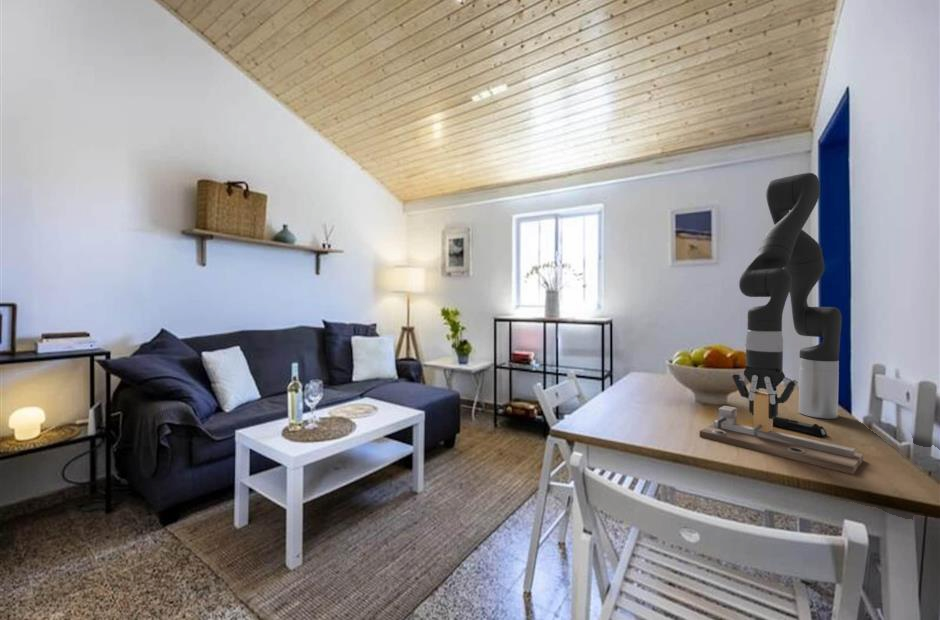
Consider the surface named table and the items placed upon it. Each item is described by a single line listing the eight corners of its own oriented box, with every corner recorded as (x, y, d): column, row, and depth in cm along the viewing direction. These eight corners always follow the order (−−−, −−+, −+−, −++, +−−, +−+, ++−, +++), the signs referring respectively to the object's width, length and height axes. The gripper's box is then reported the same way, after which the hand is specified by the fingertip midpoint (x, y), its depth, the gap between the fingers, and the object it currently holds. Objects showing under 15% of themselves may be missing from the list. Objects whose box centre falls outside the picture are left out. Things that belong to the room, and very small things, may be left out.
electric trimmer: (762, 422, 121) (762, 411, 121) (828, 436, 108) (828, 424, 108) (756, 424, 119) (756, 413, 119) (822, 439, 106) (822, 427, 106)
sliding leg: (758, 428, 106) (759, 391, 105) (772, 431, 103) (773, 393, 103) (747, 434, 101) (748, 396, 100) (762, 438, 98) (762, 399, 98)
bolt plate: (716, 427, 115) (716, 402, 115) (862, 460, 92) (863, 429, 91) (699, 436, 108) (699, 410, 108) (853, 474, 85) (854, 440, 84)
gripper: (803, 349, 99) (802, 420, 100) (737, 344, 110) (737, 408, 111) (794, 352, 95) (793, 426, 95) (727, 347, 106) (726, 413, 106)
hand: (763, 416), depth 103 cm, fingers closed on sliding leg, 3 cm apart
